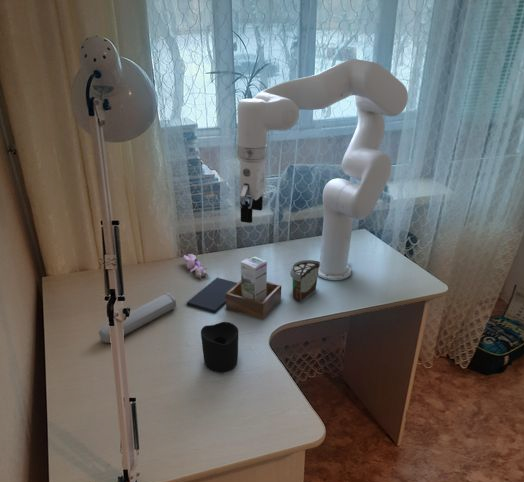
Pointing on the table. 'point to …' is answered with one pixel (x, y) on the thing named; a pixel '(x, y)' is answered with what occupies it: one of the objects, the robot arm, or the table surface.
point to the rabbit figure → (195, 266)
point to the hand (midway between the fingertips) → (251, 215)
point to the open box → (253, 301)
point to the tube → (143, 315)
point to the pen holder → (220, 346)
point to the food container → (304, 278)
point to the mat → (212, 295)
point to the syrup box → (254, 278)
